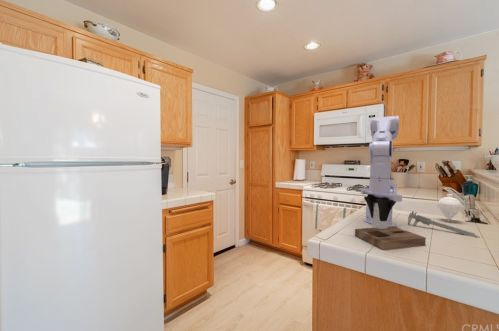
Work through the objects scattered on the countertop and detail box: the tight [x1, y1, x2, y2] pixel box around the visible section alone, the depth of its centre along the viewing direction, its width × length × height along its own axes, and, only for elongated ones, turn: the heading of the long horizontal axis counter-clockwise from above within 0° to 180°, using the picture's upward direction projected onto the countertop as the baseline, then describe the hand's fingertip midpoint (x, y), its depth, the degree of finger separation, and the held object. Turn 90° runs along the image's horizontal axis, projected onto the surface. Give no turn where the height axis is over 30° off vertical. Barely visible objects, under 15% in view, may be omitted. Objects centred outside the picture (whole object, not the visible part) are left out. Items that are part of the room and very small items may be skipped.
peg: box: [371, 202, 388, 229], centre depth 72 cm, size 3×3×8 cm
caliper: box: [407, 210, 480, 239], centre depth 83 cm, size 20×1×6 cm, turn 46°
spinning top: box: [437, 193, 463, 223], centre depth 95 cm, size 8×8×12 cm
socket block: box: [354, 226, 427, 251], centre depth 73 cm, size 12×16×2 cm
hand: (378, 219), depth 72 cm, fingers closed on peg, 3 cm apart
